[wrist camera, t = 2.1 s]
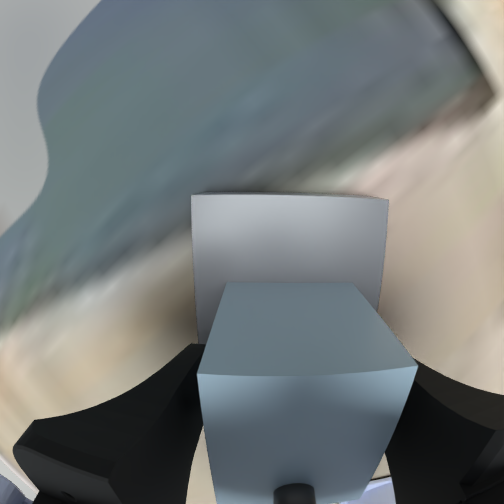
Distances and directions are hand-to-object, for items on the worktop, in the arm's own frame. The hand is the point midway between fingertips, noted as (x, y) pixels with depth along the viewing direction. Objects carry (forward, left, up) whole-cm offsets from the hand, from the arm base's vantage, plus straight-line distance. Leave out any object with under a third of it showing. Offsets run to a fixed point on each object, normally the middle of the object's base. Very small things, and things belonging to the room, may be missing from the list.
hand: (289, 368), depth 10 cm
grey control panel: (0, +3, -4) cm, 5 cm away
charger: (0, 0, -3) cm, 3 cm away
